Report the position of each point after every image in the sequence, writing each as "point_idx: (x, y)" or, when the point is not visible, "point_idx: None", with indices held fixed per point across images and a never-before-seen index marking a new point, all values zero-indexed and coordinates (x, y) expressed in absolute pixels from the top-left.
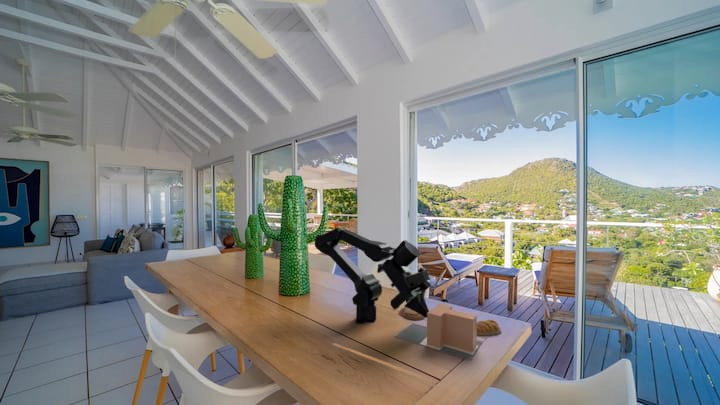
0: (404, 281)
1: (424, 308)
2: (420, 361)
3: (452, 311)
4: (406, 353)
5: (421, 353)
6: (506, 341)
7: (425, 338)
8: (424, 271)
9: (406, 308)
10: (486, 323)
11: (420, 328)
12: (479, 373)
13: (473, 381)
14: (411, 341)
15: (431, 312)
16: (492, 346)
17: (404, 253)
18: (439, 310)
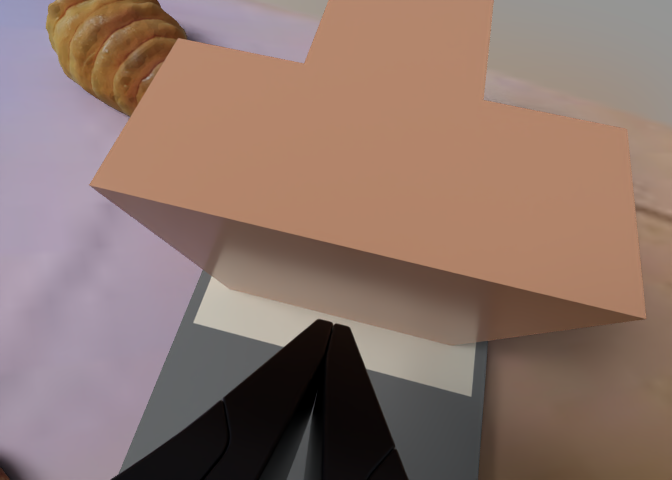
0: None
1: (370, 415)
2: (641, 352)
3: (377, 29)
4: (613, 465)
5: (551, 363)
6: (221, 10)
7: (370, 368)
8: None
9: None
10: (127, 13)
11: None
12: (559, 105)
13: (632, 123)
14: (467, 467)
15: (582, 252)
16: (294, 55)
17: None
18: (425, 157)
